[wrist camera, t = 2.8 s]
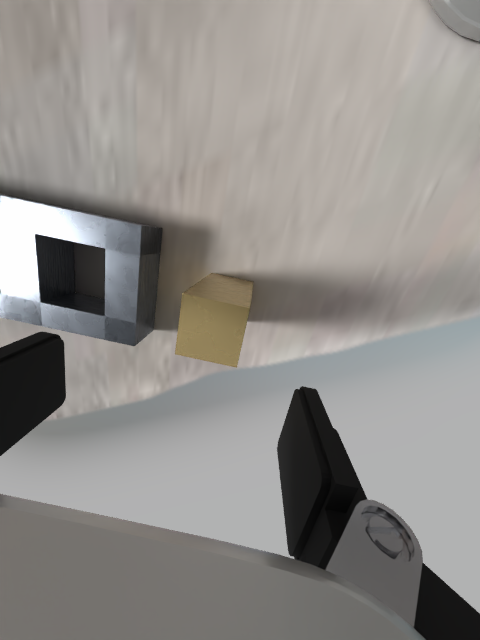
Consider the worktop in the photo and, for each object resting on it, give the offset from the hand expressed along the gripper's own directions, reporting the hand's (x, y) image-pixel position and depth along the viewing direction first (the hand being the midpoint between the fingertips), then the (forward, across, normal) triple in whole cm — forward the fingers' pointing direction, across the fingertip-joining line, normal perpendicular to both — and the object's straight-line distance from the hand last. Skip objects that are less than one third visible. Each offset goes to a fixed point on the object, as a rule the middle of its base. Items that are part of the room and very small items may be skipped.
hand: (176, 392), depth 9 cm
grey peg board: (+14, +17, -1) cm, 22 cm away
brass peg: (+14, 0, -1) cm, 14 cm away
